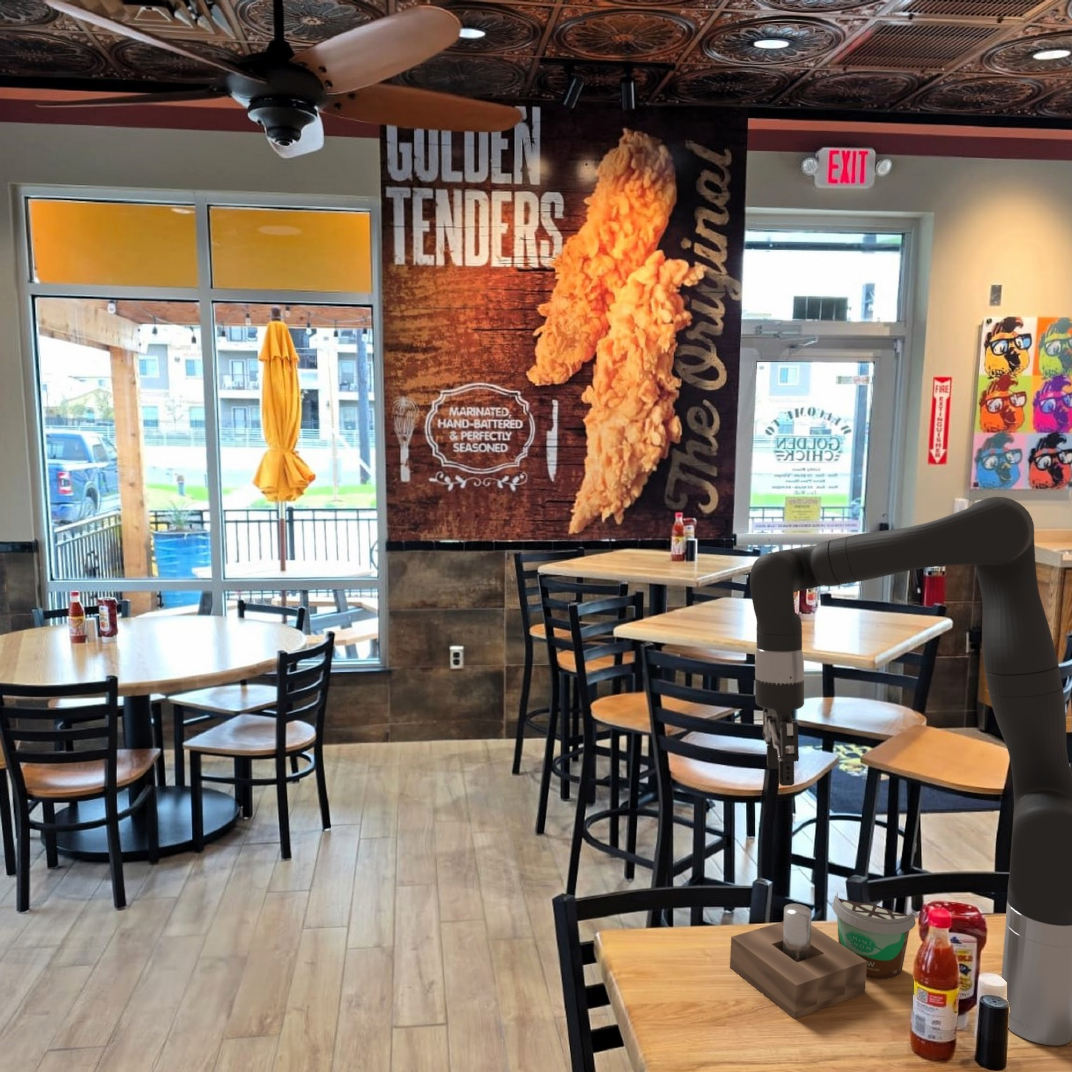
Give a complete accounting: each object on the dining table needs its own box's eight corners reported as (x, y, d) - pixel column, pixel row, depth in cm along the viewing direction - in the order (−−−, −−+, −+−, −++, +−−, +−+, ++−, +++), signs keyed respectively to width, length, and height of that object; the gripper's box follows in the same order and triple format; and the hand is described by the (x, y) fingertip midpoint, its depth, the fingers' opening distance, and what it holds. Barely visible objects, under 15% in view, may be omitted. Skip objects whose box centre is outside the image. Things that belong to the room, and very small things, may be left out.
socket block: (797, 946, 145) (798, 916, 145) (865, 993, 133) (866, 961, 132) (729, 967, 139) (731, 936, 138) (794, 1018, 126) (796, 985, 126)
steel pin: (796, 962, 138) (797, 901, 138) (815, 976, 135) (817, 913, 134) (776, 969, 137) (778, 907, 136) (795, 983, 133) (797, 919, 132)
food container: (823, 969, 139) (826, 908, 138) (830, 950, 144) (833, 891, 143) (908, 993, 133) (912, 929, 132) (912, 972, 139) (916, 910, 138)
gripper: (815, 685, 135) (815, 791, 136) (792, 667, 149) (792, 762, 150) (765, 686, 135) (766, 791, 136) (747, 667, 150) (747, 762, 150)
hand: (780, 776), depth 143 cm, fingers open, 8 cm apart
